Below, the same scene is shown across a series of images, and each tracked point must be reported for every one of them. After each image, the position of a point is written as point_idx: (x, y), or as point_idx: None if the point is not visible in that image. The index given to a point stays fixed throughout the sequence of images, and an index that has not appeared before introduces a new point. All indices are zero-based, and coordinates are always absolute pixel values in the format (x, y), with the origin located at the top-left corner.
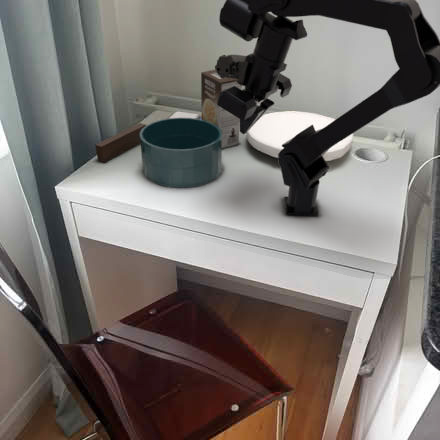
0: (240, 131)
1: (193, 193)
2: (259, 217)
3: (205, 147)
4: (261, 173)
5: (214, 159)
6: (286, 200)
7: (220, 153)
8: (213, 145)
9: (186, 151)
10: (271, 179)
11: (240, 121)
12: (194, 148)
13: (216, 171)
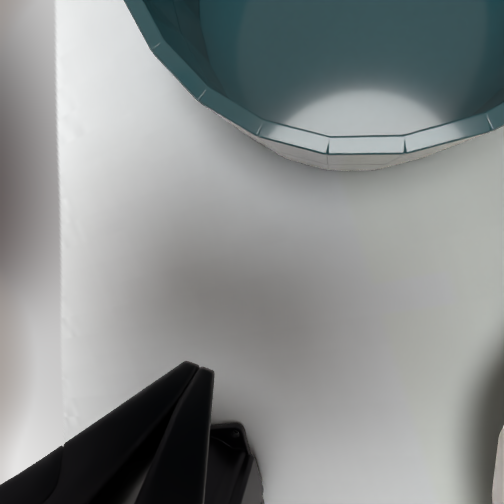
0: (183, 366)
1: (181, 125)
2: (124, 360)
3: (210, 109)
4: (411, 331)
5: (295, 155)
6: (219, 433)
7: (371, 163)
8: (272, 141)
9: (134, 17)
10: (369, 373)
11: (106, 420)
12: (167, 50)
13: (316, 166)
